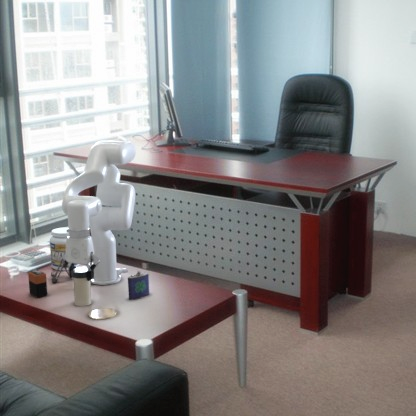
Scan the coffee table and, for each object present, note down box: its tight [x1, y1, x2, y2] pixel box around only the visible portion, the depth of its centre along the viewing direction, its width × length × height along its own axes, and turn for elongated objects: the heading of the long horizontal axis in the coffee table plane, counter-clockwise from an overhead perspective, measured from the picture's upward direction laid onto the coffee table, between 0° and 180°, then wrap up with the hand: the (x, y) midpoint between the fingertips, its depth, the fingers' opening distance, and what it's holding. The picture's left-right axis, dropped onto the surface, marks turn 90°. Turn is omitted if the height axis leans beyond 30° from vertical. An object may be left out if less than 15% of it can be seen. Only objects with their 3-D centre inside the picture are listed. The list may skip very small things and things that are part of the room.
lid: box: [71, 266, 88, 279], centre depth 254 cm, size 7×7×2 cm
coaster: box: [87, 307, 118, 321], centre depth 246 cm, size 10×10×1 cm
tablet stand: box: [50, 258, 73, 284], centre depth 281 cm, size 9×8×8 cm
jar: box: [72, 278, 92, 307], centre depth 255 cm, size 6×6×13 cm
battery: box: [27, 268, 48, 299], centre depth 263 cm, size 4×7×10 cm, turn 47°
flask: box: [127, 270, 150, 301], centre depth 263 cm, size 9×3×11 cm, turn 138°
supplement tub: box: [49, 226, 81, 271], centre depth 296 cm, size 12×12×17 cm
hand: (81, 278), depth 254 cm, fingers closed on lid, 7 cm apart
